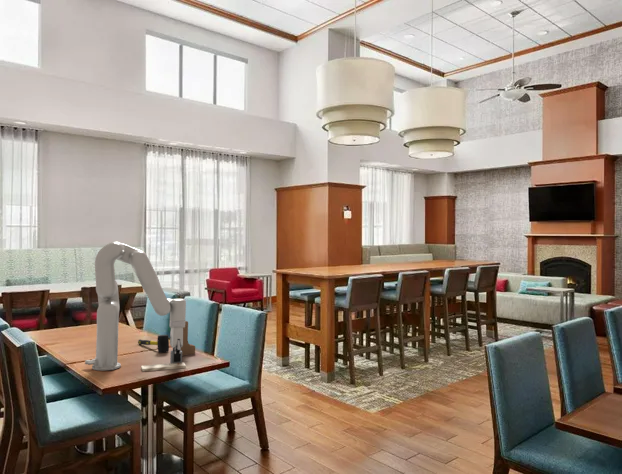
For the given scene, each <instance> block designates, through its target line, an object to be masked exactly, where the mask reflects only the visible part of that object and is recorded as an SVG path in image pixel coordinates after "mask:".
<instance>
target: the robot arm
mask: <svg viewBox="0 0 622 474" xmlns="http://www.w3.org/2000/svg"><path fill="white" fill-rule="evenodd" d="M116 261H120V262H123V263H125V264H128V265H131V267H132V269H133V271H134V273H135V276H136V278H137V279H138V282H139V283H140V286H141V287H142V289H143V291H144V292H145V294H146V296H147V298H148V300H149V301H150V304H151V306H152V308H153V311H154V312H155V313H156V314H157V315H158V316H162V317H163V316H167V315H168V314H169V328H170V336H169V346H170V347H171V348H172V351H173V350H175V354H174V362H180V361H181V347H182V346H183V327H185V321H186V316H187V315H186V313H187V311H186V310H187V309H186V308H187V301H186V299H184V298H167V296H166V294H165V292H164V289H163V288H162V285H161V282H160V279H159V276H158V274H157V272H156V270H155V268H154V267H153V264H152V263H151V261H150V259H149V257H148V255H147V253H146V252H145V251H143V250H141V249H138V248H135V247H133V246H130V245H128V244H125V243H122V242H120V241H111V242H109V243H107V244H105V245H104V246H103V247H102V248H100V249H99V251H98V252H97V254H96V255H95V260H94V271H95V272H94V276H95V292H96V294H97V300H98V307H97V310H96V343H95V345H96V346H95V348H96V349H95V352H96V353H95V356H94V358H92V359H86V360H84V361H85V362H84V365H89V366H90V365H92V366H91V368H92V370H94V371H102V372H105V371H113V370H117V369H120V368H121V366H122V364H121V363H120V362H118V357H119V356H118V354H119V353H118V352H119V351H118V349H119V320H120V319H119V317H120V299H119V298H120V296H119V295H120V294H119V286H118V282H117V281H116V275H115V274H116V273H115V271H116V270H115V262H116Z"/></svg>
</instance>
